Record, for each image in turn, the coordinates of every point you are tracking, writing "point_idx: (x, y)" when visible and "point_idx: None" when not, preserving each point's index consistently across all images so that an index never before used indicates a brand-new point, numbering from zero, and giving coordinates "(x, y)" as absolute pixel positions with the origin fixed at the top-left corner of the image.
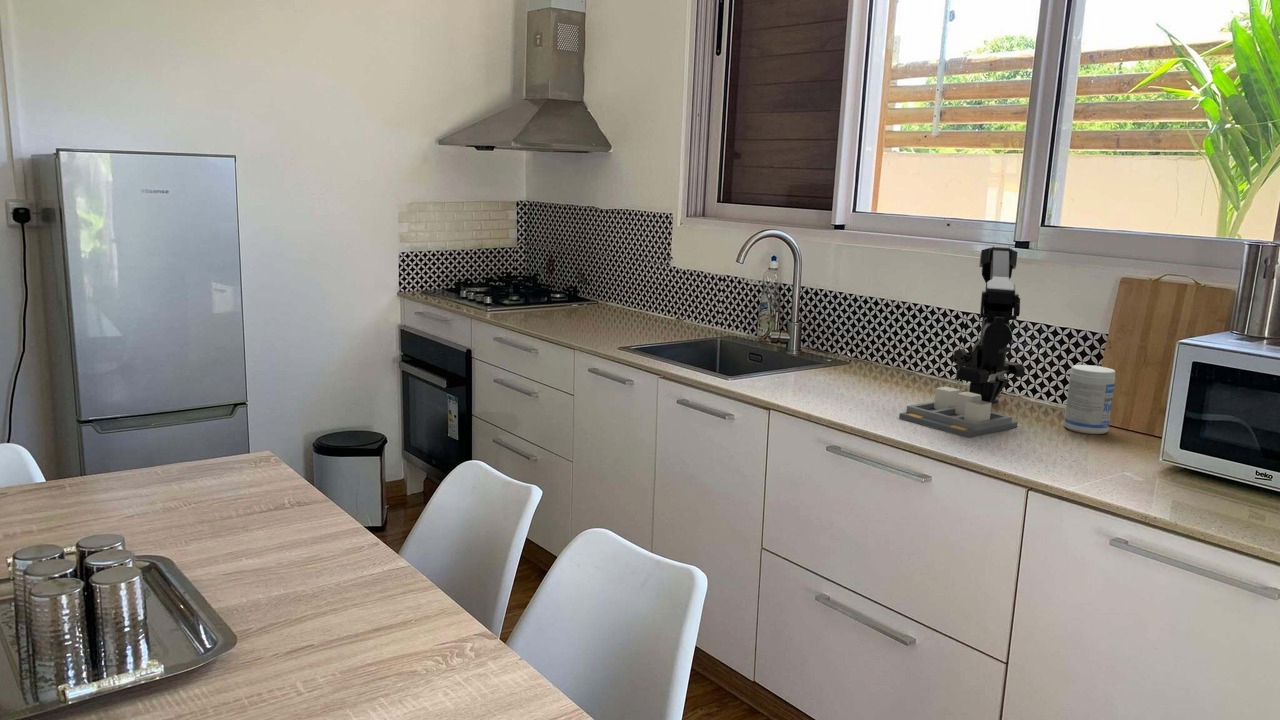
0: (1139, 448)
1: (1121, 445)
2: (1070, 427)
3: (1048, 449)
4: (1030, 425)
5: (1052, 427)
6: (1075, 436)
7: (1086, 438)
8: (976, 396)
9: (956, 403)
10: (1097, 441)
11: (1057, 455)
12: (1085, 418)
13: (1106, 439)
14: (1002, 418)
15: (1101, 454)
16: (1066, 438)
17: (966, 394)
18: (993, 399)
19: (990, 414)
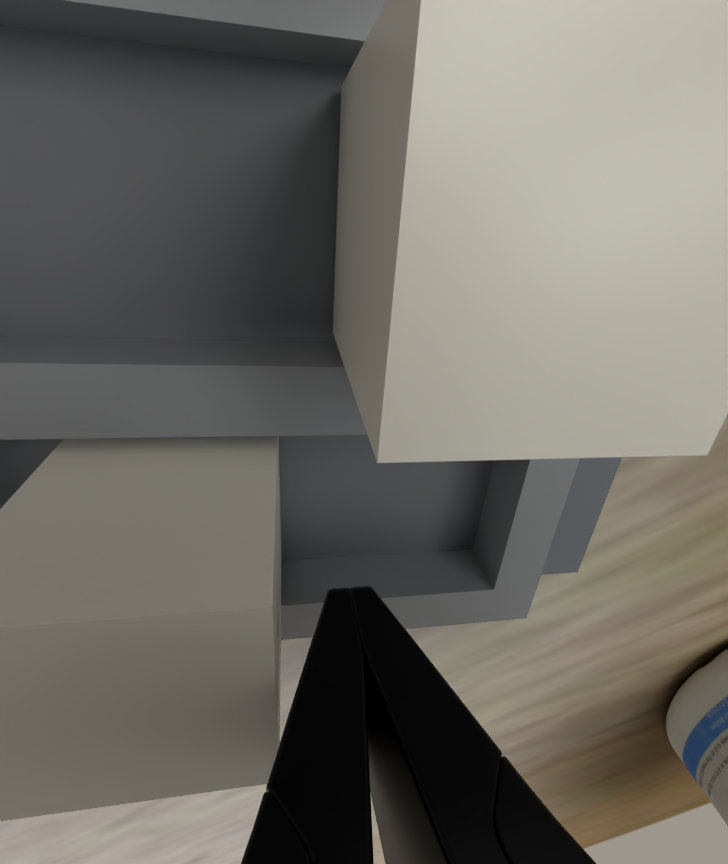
0: (578, 838)
1: (575, 815)
2: (692, 693)
3: (244, 806)
4: (666, 551)
5: (699, 615)
6: (587, 725)
7: (586, 749)
8: (535, 456)
9: (363, 54)
10: (569, 778)
11: (193, 852)
12: (720, 806)
13: (629, 770)
14: (409, 619)
15: (382, 859)
16: (517, 734)
17: (515, 246)
18: (374, 790)
19: (520, 461)
